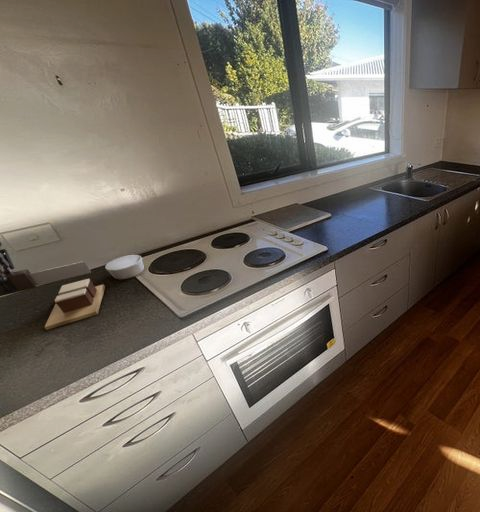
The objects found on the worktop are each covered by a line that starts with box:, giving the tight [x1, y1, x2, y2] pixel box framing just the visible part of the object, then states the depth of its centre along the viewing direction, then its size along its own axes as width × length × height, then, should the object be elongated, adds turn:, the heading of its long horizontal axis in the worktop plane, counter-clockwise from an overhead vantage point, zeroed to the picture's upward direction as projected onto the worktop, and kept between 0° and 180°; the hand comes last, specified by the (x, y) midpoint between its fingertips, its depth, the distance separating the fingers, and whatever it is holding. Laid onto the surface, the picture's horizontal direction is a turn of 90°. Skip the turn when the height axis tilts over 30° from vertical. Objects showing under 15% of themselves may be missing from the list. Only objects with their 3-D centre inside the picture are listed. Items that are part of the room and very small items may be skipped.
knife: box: [0, 260, 92, 297], centre depth 83 cm, size 21×3×5 cm, turn 123°
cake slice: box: [54, 288, 94, 313], centre depth 94 cm, size 7×3×5 cm, turn 124°
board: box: [44, 284, 106, 331], centre depth 97 cm, size 12×18×1 cm, turn 34°
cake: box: [58, 278, 97, 298], centre depth 98 cm, size 7×5×5 cm
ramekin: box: [104, 254, 145, 280], centre depth 113 cm, size 11×11×5 cm
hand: (13, 289), depth 81 cm, fingers closed on knife, 2 cm apart
